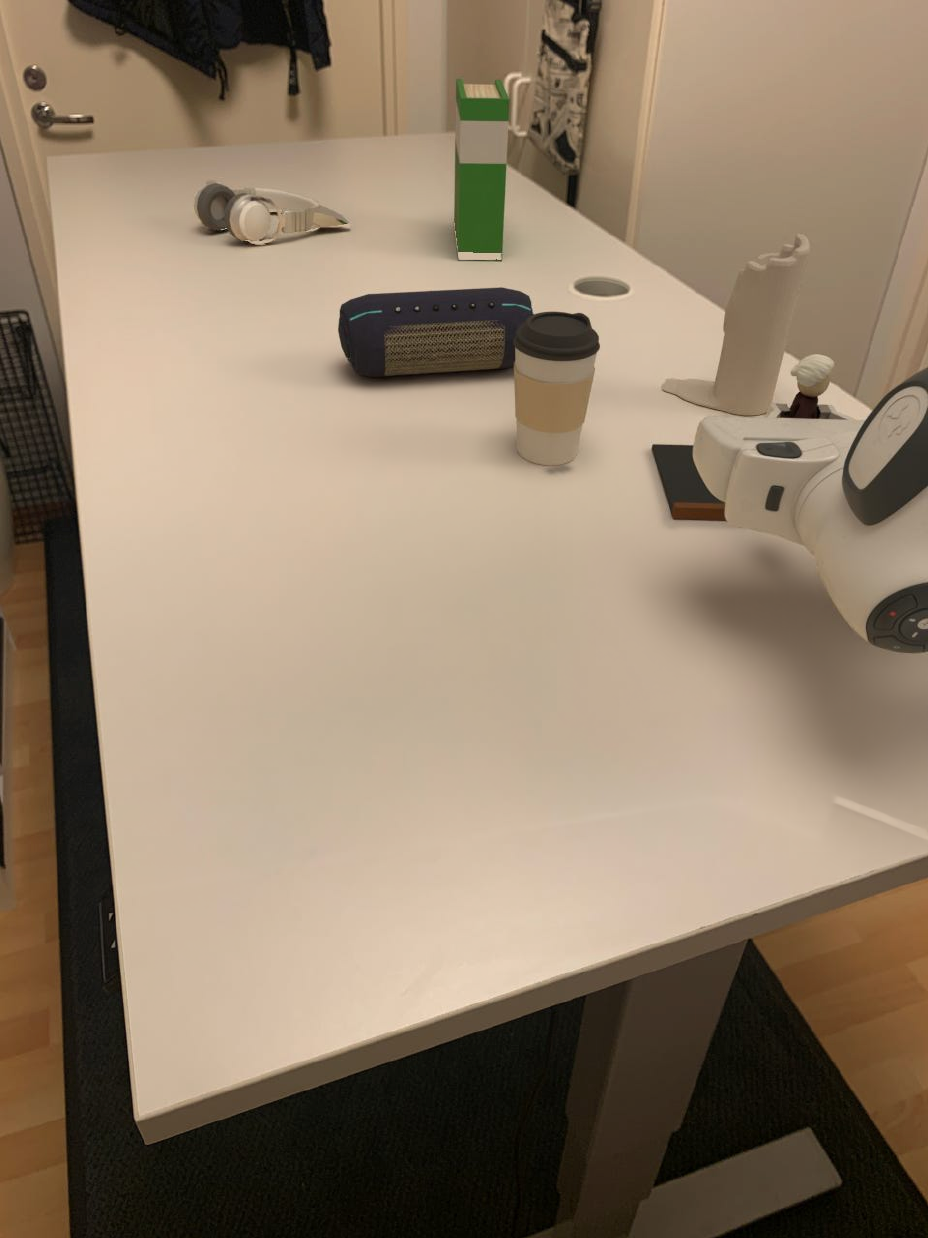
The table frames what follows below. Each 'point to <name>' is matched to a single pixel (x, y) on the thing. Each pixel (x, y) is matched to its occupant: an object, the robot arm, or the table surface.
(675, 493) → the chalkboard
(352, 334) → the portable speaker
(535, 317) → the coffee cup
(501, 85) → the hardback book
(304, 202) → the headphones
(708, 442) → the robot arm
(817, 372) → the grandmother figurine
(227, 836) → the table surface
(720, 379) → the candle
